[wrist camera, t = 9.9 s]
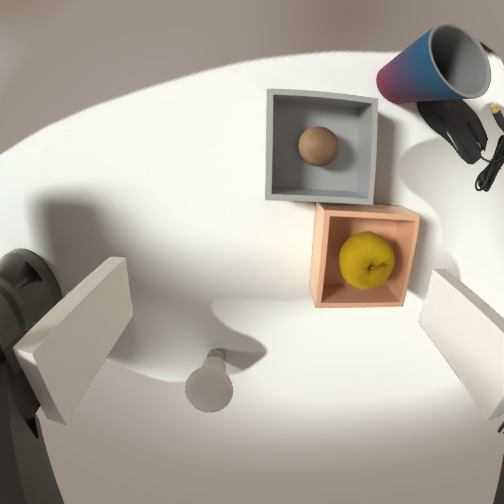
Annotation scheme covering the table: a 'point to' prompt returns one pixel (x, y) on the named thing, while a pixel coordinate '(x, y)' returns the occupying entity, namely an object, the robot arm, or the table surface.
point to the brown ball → (318, 146)
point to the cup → (437, 68)
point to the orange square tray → (342, 228)
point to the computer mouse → (465, 133)
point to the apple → (366, 260)
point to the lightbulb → (210, 384)
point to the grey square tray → (349, 137)
